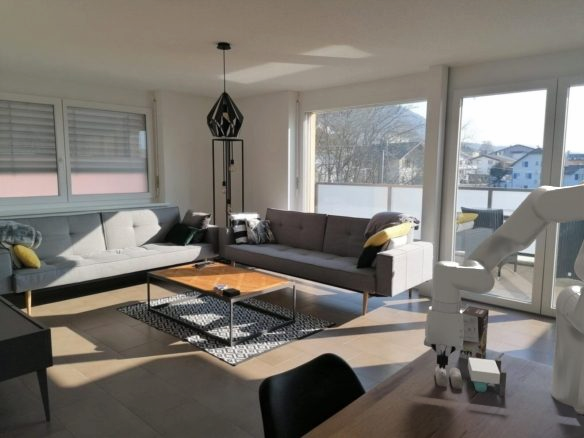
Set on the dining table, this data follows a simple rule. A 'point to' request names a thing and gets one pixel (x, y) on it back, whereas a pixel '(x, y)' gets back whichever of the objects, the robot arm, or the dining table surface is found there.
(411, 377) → the dining table surface
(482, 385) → the roller
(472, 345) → the coffee box
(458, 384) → the roller bed
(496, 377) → the slab
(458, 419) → the dining table surface
